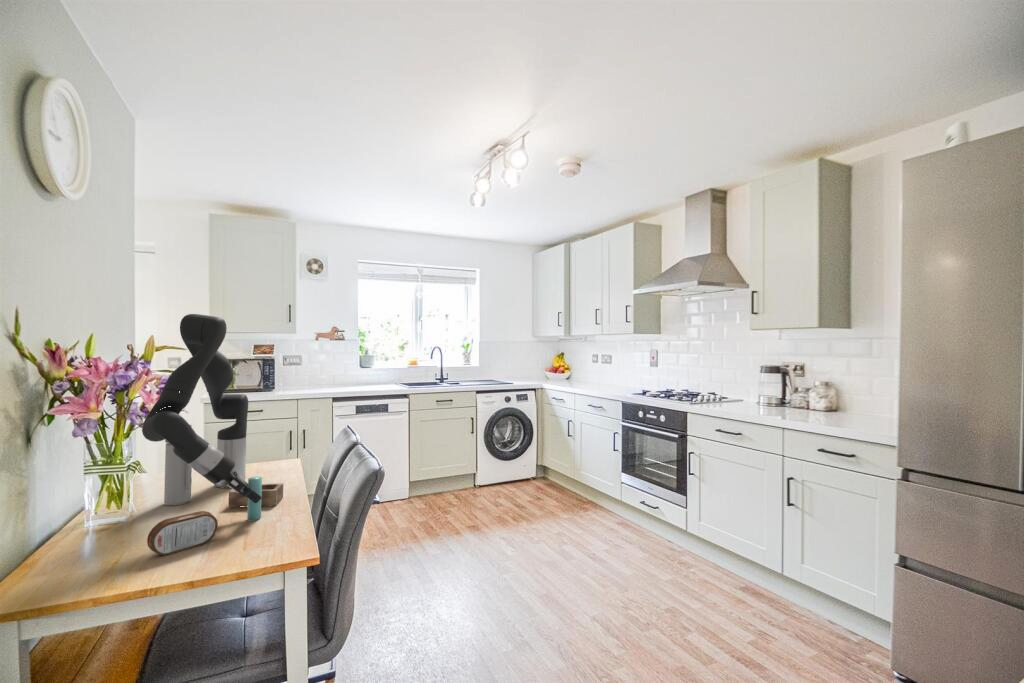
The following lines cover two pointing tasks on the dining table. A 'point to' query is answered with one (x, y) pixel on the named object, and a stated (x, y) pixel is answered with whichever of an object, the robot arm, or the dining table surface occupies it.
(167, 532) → the tin
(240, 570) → the dining table surface
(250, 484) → the peg
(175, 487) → the water bottle
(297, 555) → the dining table surface
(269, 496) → the socket
